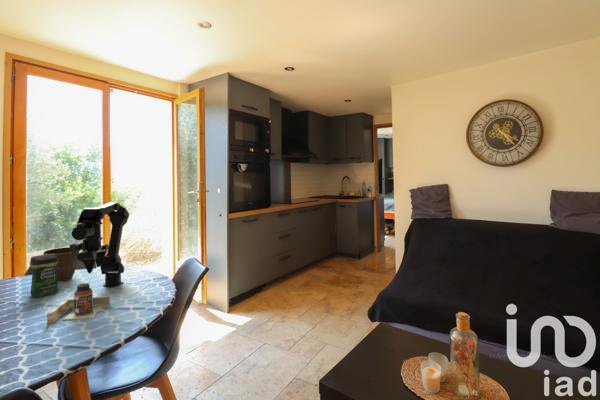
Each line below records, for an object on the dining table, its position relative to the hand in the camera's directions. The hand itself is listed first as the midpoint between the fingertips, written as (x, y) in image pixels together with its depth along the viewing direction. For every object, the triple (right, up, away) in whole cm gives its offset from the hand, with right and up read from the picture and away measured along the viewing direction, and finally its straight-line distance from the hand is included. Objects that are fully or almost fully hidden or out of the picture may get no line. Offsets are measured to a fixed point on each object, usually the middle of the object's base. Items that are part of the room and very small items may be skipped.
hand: (94, 269), depth 130 cm
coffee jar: (-26, -13, +4) cm, 29 cm away
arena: (+6, -14, -14) cm, 21 cm away
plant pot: (-33, -11, +23) cm, 42 cm away
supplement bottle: (+6, -14, -14) cm, 21 cm away
